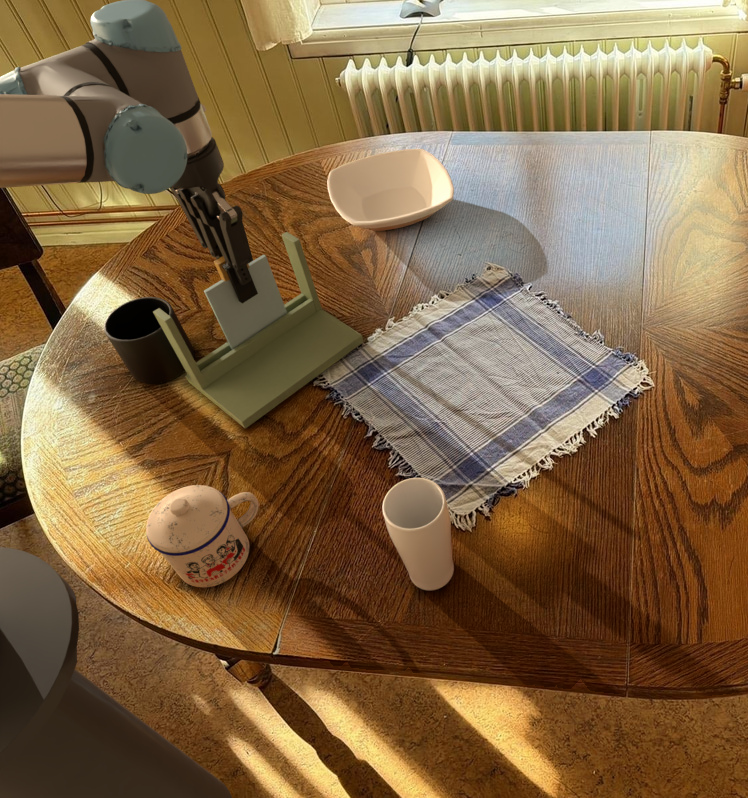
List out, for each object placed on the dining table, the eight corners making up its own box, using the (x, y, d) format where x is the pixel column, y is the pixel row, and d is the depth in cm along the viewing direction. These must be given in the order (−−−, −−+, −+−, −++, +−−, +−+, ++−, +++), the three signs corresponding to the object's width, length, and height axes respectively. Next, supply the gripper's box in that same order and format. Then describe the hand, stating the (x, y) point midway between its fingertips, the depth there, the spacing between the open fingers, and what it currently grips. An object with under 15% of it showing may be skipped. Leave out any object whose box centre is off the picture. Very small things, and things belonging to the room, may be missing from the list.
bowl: (324, 192, 142) (317, 167, 138) (432, 165, 147) (429, 141, 143) (351, 257, 128) (344, 232, 124) (469, 226, 134) (466, 200, 130)
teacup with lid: (195, 605, 87) (154, 556, 78) (163, 554, 91) (121, 502, 83) (286, 544, 92) (258, 491, 83) (252, 498, 96) (221, 443, 88)
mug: (166, 324, 119) (142, 280, 112) (207, 359, 113) (185, 315, 106) (111, 356, 114) (82, 313, 107) (151, 395, 109) (123, 351, 102)
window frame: (245, 429, 104) (206, 354, 93) (188, 382, 110) (146, 306, 99) (363, 342, 115) (342, 265, 103) (306, 304, 121) (280, 227, 110)
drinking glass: (412, 543, 92) (392, 472, 80) (466, 551, 91) (453, 480, 79) (396, 593, 87) (372, 526, 76) (453, 602, 86) (437, 535, 75)
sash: (238, 359, 111) (199, 276, 99) (233, 356, 111) (193, 272, 99) (292, 323, 116) (261, 239, 104) (287, 320, 116) (255, 236, 104)
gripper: (243, 150, 88) (296, 301, 105) (176, 113, 94) (237, 262, 112) (188, 179, 84) (252, 330, 102) (121, 138, 90) (193, 287, 108)
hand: (244, 294), depth 107 cm, fingers closed on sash
